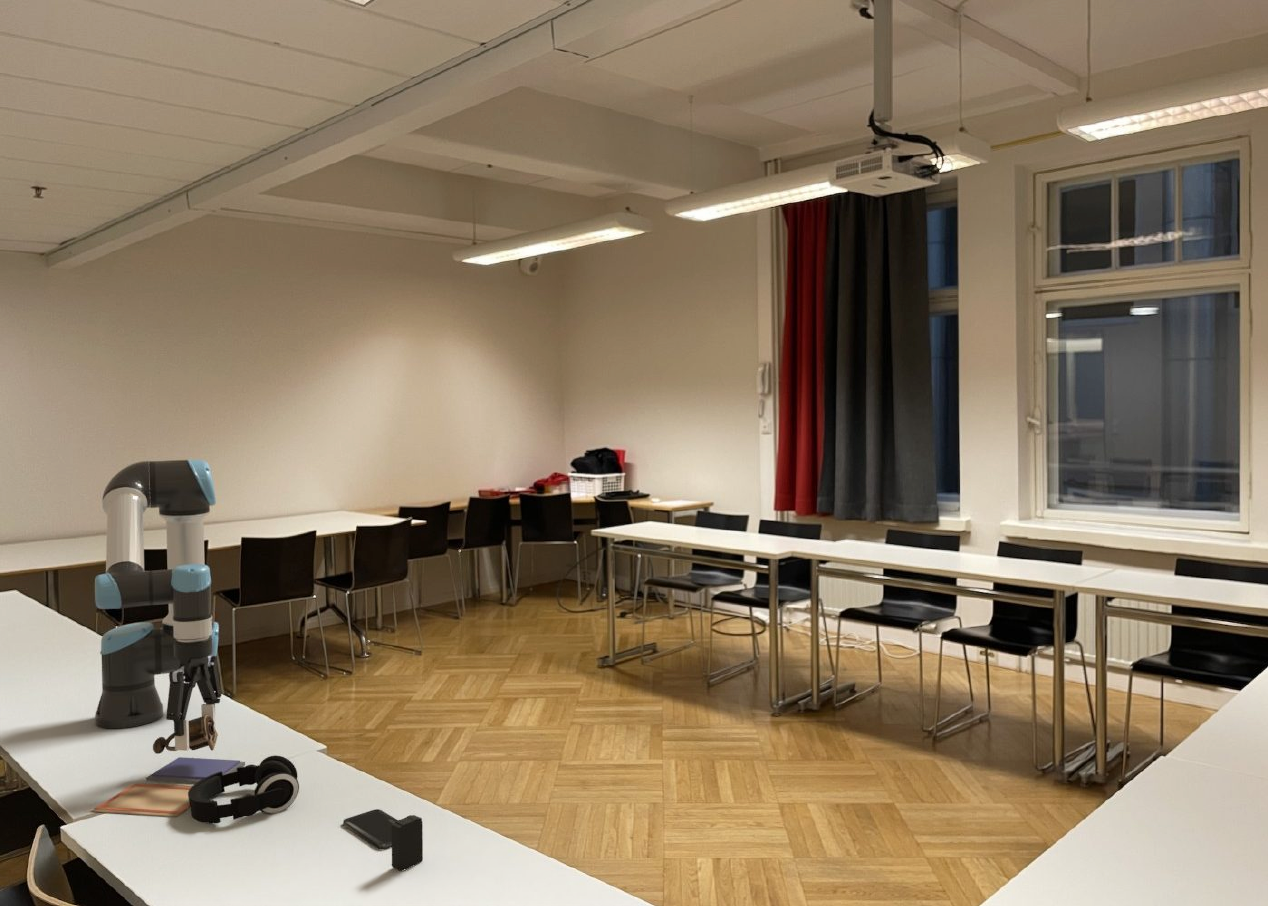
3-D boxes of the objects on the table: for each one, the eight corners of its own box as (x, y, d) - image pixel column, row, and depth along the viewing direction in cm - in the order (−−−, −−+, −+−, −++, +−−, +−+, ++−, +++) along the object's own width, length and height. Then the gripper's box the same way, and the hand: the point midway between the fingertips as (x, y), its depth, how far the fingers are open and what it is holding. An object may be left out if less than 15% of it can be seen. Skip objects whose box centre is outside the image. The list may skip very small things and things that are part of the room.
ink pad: (177, 761, 214) (177, 756, 214) (245, 765, 212) (245, 759, 212) (146, 780, 204) (146, 775, 204) (216, 785, 201) (216, 779, 201)
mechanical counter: (200, 735, 201) (227, 709, 210) (143, 726, 202) (172, 702, 212) (202, 765, 203) (229, 738, 212) (146, 756, 204) (175, 730, 214)
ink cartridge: (414, 857, 170) (414, 813, 169) (423, 861, 168) (422, 816, 168) (391, 868, 166) (390, 822, 165) (399, 872, 164) (399, 826, 164)
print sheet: (137, 783, 202) (137, 782, 202) (217, 788, 200) (217, 786, 200) (90, 811, 188) (90, 810, 188) (176, 817, 186) (176, 816, 186)
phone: (380, 847, 172) (341, 820, 183) (380, 853, 172) (341, 826, 183) (419, 833, 178) (378, 807, 188) (419, 839, 178) (378, 813, 188)
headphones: (296, 774, 186) (182, 801, 179) (302, 813, 187) (189, 842, 180) (294, 744, 203) (189, 768, 196) (299, 780, 204) (195, 805, 197)
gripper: (205, 625, 218) (208, 724, 219) (144, 650, 196) (147, 759, 197) (237, 626, 216) (239, 725, 218) (178, 651, 195) (181, 761, 196)
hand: (195, 741), depth 207 cm, fingers closed on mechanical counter, 9 cm apart
